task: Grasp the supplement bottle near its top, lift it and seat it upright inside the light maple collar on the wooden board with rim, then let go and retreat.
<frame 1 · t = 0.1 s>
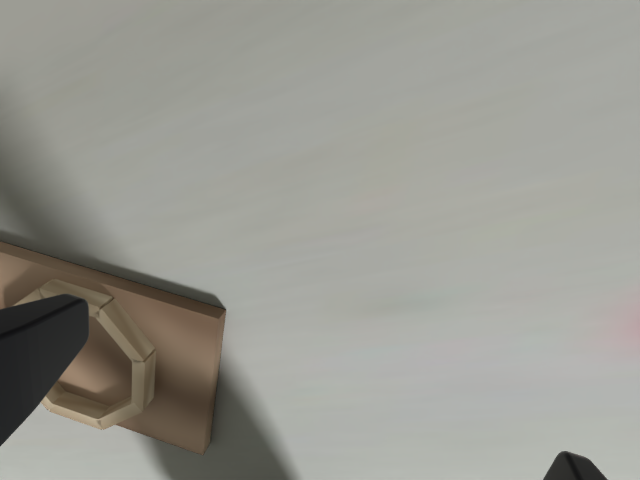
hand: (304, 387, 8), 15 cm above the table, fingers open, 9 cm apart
wooden board with rim: (96, 342, 30), on the table
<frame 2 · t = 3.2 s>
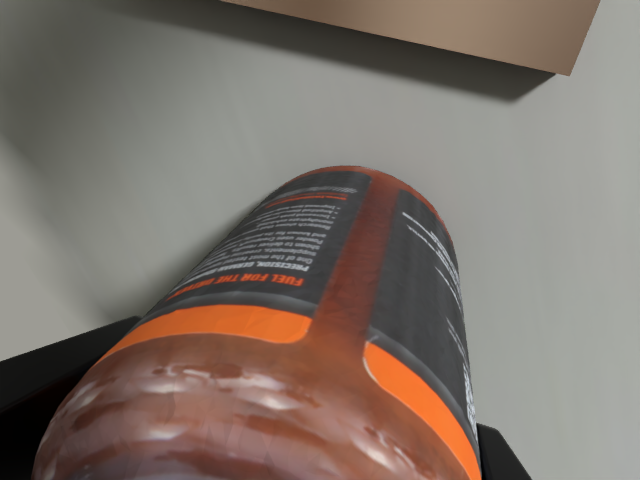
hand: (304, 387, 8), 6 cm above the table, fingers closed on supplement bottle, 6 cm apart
supplement bottle: (352, 258, 14), on the table, touching gripper
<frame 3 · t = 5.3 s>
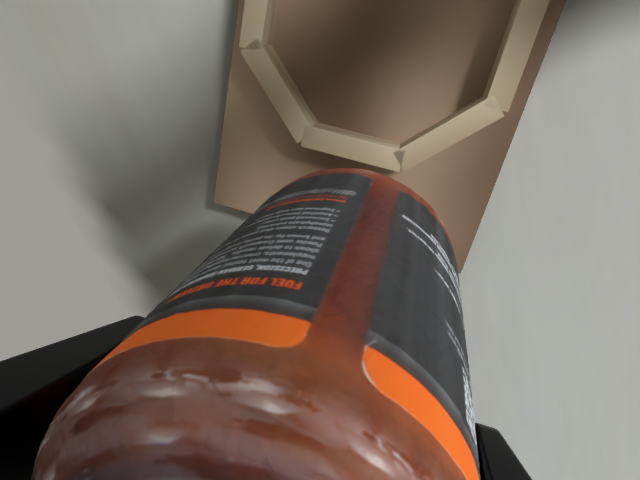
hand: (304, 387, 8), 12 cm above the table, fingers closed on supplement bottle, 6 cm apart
supplement bottle: (352, 259, 14), point 7 cm above the table, touching gripper
wooden board with rim: (388, 23, 17), on the table
when the fingers open (7 cm above the table, at t = 7.2 s): supplement bottle stays where it is, resting on wooden board with rim.
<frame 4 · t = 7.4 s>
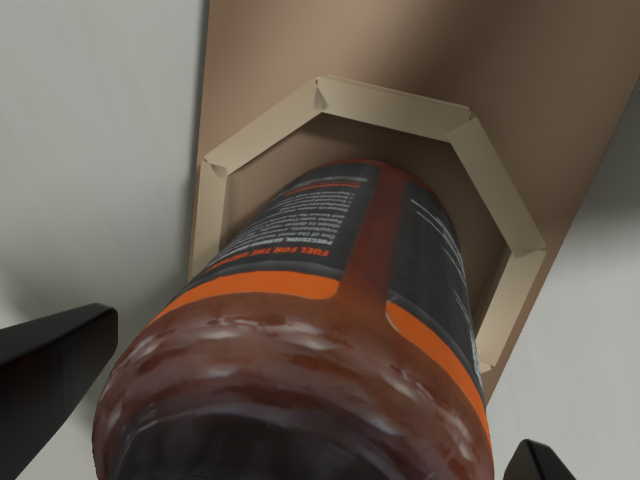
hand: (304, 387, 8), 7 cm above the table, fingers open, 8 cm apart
supplement bottle: (360, 246, 14), point 1 cm above the table, touching wooden board with rim
wooden board with rim: (361, 236, 15), on the table
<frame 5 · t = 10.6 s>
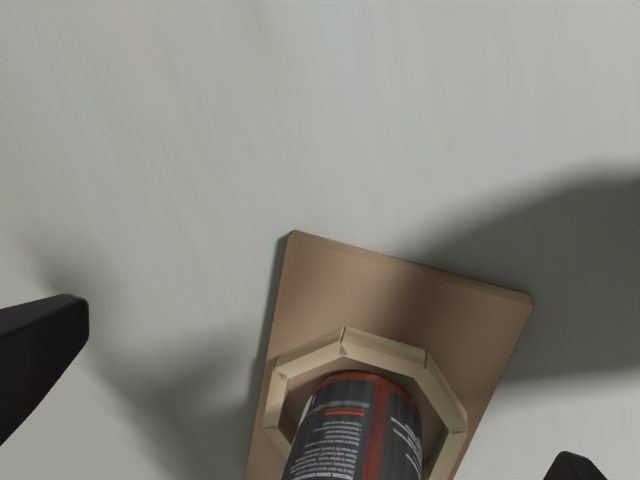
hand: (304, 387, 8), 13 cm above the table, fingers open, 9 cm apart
supplement bottle: (364, 409, 24), point 1 cm above the table, touching wooden board with rim
wooden board with rim: (364, 398, 25), on the table
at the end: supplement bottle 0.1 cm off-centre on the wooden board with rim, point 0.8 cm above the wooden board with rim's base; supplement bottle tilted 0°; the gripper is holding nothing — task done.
